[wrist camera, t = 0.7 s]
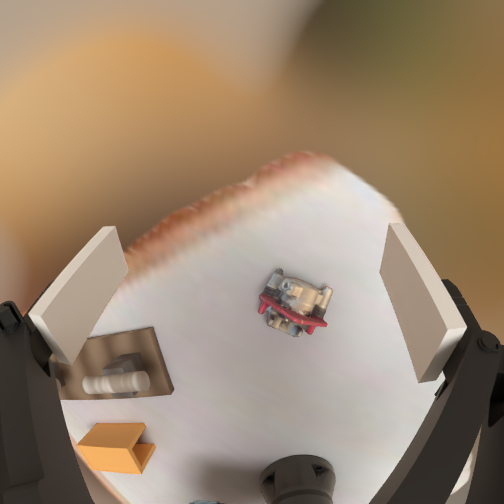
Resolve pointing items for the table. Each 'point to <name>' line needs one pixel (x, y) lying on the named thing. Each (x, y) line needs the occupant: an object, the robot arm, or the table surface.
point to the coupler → (116, 448)
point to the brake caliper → (294, 304)
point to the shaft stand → (115, 368)
